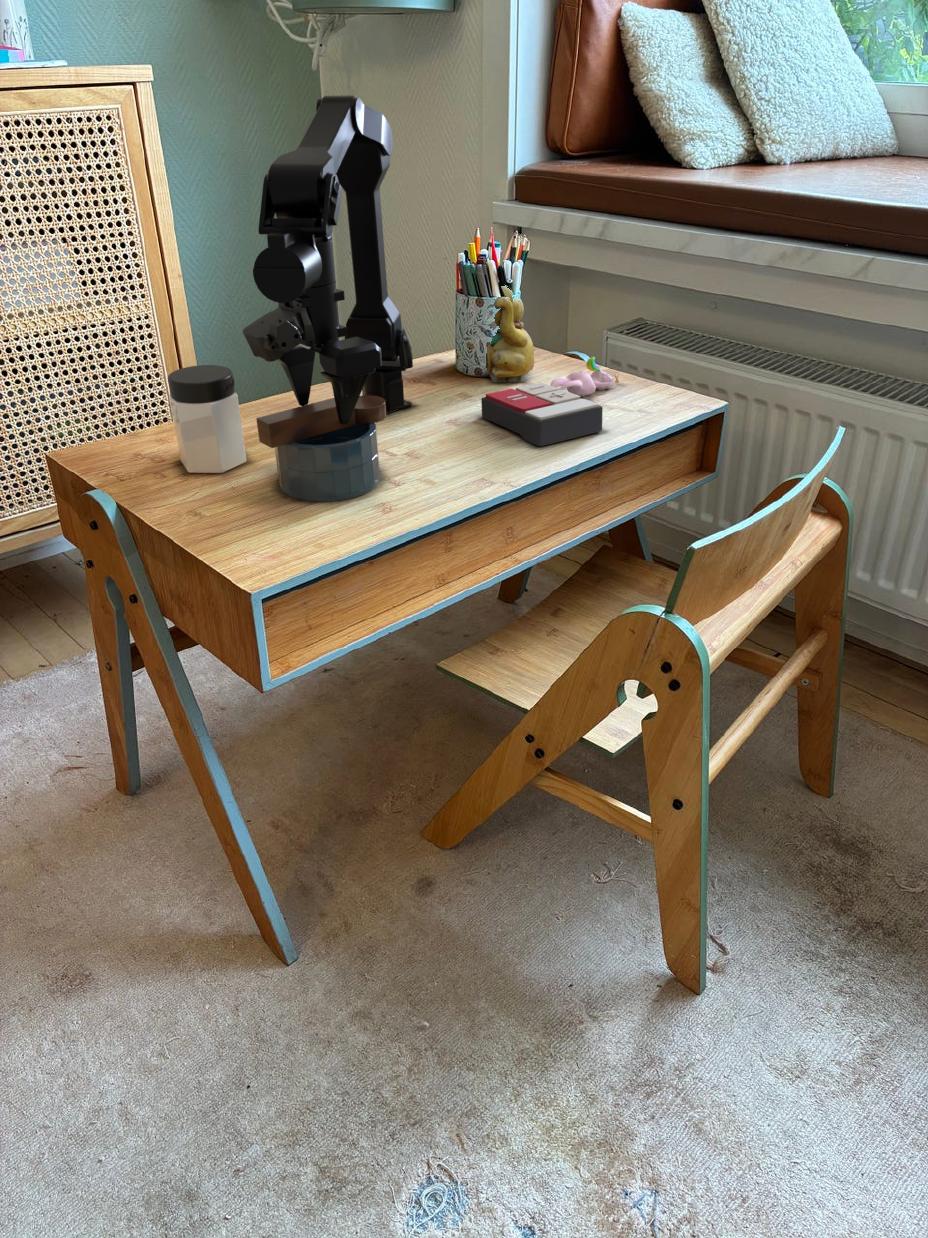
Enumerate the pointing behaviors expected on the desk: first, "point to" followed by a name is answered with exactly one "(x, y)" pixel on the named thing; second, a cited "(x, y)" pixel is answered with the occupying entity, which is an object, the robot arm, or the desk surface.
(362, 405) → the spoon
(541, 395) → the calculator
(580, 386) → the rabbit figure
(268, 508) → the desk surface
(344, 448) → the pot
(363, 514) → the desk surface
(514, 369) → the decorative figurine
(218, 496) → the desk surface
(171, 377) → the jar
